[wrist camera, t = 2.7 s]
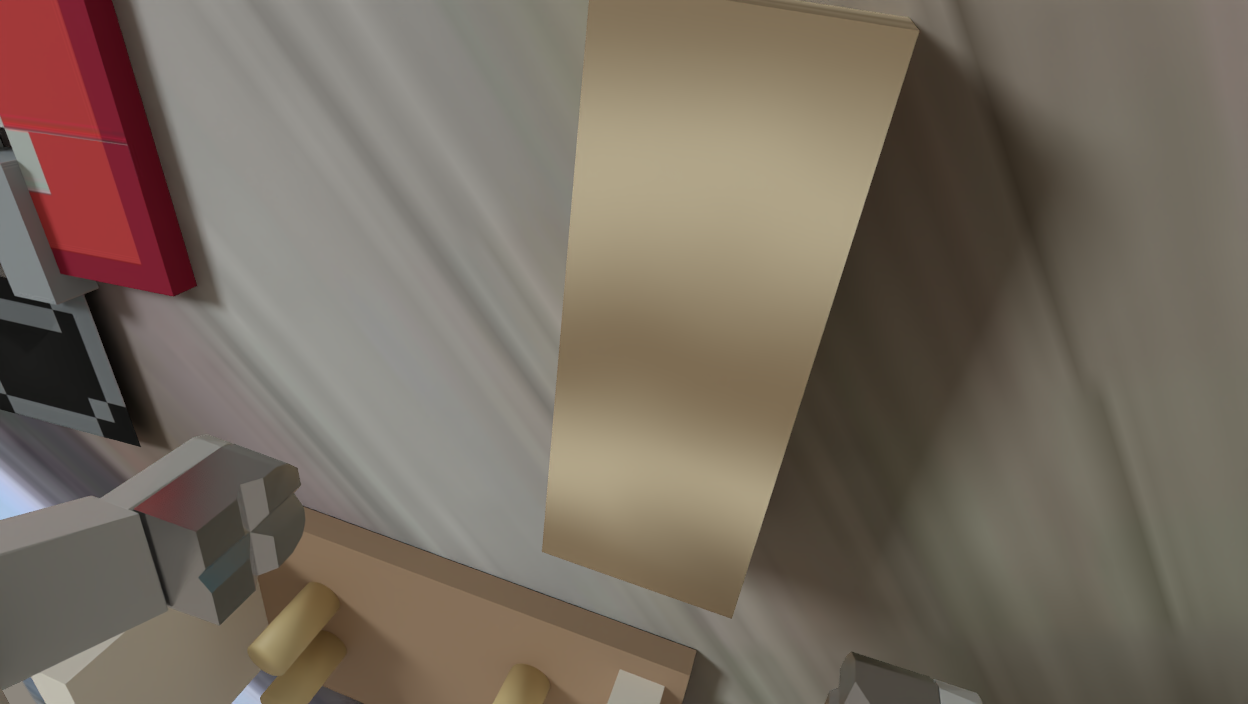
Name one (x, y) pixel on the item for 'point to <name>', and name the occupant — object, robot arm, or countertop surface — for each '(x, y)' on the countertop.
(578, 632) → the cradle
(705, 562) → the tan wooden block
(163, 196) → the red board with handle
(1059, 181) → the countertop surface
